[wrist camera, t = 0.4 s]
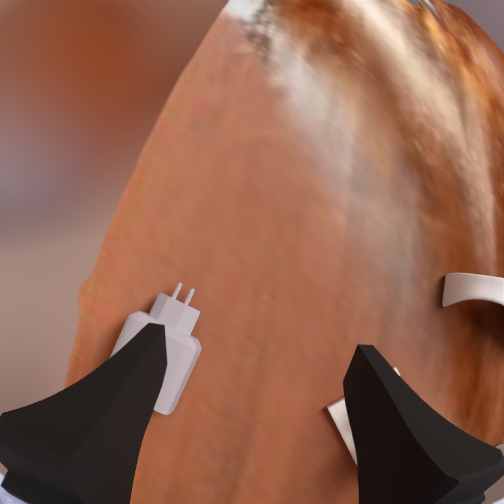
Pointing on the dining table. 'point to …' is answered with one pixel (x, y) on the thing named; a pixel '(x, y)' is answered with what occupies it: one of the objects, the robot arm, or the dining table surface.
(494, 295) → the spoon rest
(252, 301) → the dining table surface
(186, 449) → the dining table surface
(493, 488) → the cylinder vase
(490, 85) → the dining table surface
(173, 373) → the charger
